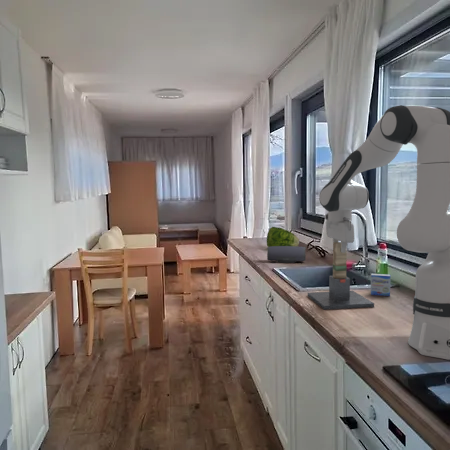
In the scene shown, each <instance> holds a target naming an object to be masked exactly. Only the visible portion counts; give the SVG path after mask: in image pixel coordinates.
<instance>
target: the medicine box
mask: <svg viewBox="0 0 450 450" xmlns="http://www.w3.org/2000/svg"><path fill="white" fill-rule="evenodd" d="M391 280H392V279H391V274H389V273H388V274H387V273H384V274H383V273H371V274H370V295H371V296H382V297H390V296H391Z"/></svg>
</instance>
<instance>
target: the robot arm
mask: <svg viewBox="0 0 450 450" xmlns="http://www.w3.org/2000/svg"><path fill="white" fill-rule="evenodd" d="M371 129H372V130H371V132H370V133H369V135H368V136H367V138H366V139H365V141H364V142H363V143H362V144H361V145H360V146H359V147H357V149H355V150H353V152H350V154H349V155H348V156H347V157H346V158H345V160H344V161H343V162H342V163H341V165H340V167H339V168H338V169H337V170H336V172H335V173H334V174H333V177H332V178H331V179H330V181H328V182H327V183H326V184H325V185H324V186H323V187H322V189H321V190H320V193H319V203H320V205H321V207H323V209H325V210H326V211H327V213H326V214H325V216H324V217H325V218H324V219H325V220H326V222H325V224H326V225H325V227H326V229H325V231H326V235H327V237H328V238H330V239H332V243H333V242H341V248H340V252H342V253H345V252H346V247H347V246H348V244H349V243H350V244H351V243H353V244H354V242H355V228H354V227H355V226H354V224H353V223H352V218H353V217H352V216H353V215H352V212H353V211H352V210H361V209H364V208H365V207H366V206H367V205H368V203H369V200H370V194H369V193H370V192H369V190H368V187H366V186H365V185H363V184H360V183H358V182H355V181H354V180H353V179H354V177H356V176H357V175H359V174H361V173H363V172H366V171H369V170H372V169H377V168H381V167H385V166H387V165H389V164H390V163H391V162H393V160H394V159H395V158H396V157H397V156H398V153H399V152H400V150H401V148H402V147H403V145H405V146H406V145H408V144H412V145H413V146H414V147H415V148H416V189H415V194H414V199H413V201H412V205H411V207H410V209H409V211H408V213H407V214H406V216H404V218H402V220H401V221H400V222H399V223H398V225H397V228H396V238H397V241H398V244H399V245H400V246H401V247H402V248H403V250H406V251H409V252H414V253H419V254H420V253H421V254H425V253H426V254H427V253H428V254H427V255H426V258H425V260H424V261H423V262H422V264H421V265H419V266H418V268H417V269H416V272H415V290H414V291H415V292H414V293H415V295H414V296H413V299H412V300H413V301H412V311H413V312H412V314H413V321H412V325H411V326H412V327H411V331H410V334H409V337H408V340H407V343H408V345H409V346H410V347H411V348H413V349H415V350H417V351H418V353H419V354H420V355H422V356H426V357H432V358H437V359H444V360H448V361H450V212H448V210H449V207H450V111H449V110H447V109H445V108H442V107H432V106H425V105H419V104H418V105H417V104H415V105H413V104H412V105H411V104H410V105H395V106H392V107H389V108H387V109H386V110H385V111H384V112H383V114H382V116H381V117H380V118H379V119H378V120H377V121H376V123H375V125H374V127H372V128H371Z"/></svg>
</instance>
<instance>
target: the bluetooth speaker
mask: <svg viewBox="0 0 450 450" xmlns="http://www.w3.org/2000/svg"><path fill="white" fill-rule="evenodd" d="M266 248H267V254H266V257H267V258H266V259H267V261H273V262H277V263H283V264H292V263H293V264H294V263H296V262H305V261H306V259H307V257H306V256H307V255H306V248H307V247H305V246H299V245H298V246H271V247H268V246H267V247H266Z"/></svg>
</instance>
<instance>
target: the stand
mask: <svg viewBox="0 0 450 450" xmlns="http://www.w3.org/2000/svg"><path fill="white" fill-rule="evenodd" d="M328 278H329V280H328V281H329V282H328V289H329V290H328V291H318V292H317V291H314V292H313V291H312V292H307V297H308V298H310V300H312V301H313V302H314V303H315V304H316V305H318V307H320V308H321V309H322V310H324V311H326V310H327V311H328V310H346V309H363V308H365V309H366V308H375V303H374V302H373V301H372V300H369V299H368V298H366V297H365V296H363V295H361V294H359V293H357V292H356V291H354V290H351V278H350V277H348V276H346V278H339V279H336V278H334V277H333V275H329V277H328Z"/></svg>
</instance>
